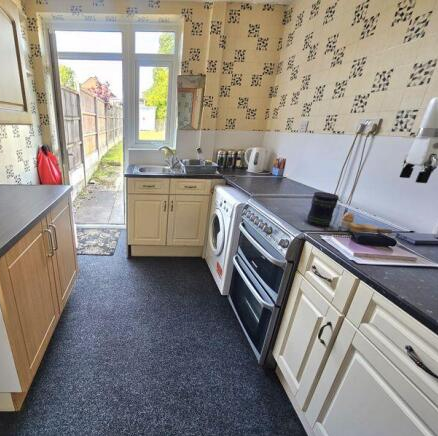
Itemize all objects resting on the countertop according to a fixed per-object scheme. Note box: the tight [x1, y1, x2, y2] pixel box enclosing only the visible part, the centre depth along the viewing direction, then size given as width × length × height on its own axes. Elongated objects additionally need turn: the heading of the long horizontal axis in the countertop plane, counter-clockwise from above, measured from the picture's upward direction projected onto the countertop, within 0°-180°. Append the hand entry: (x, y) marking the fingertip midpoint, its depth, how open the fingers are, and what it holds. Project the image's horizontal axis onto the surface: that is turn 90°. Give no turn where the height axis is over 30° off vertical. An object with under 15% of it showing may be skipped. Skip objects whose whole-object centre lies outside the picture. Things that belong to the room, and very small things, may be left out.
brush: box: [346, 222, 394, 235], centre depth 109 cm, size 16×5×4 cm, turn 72°
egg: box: [337, 212, 356, 230], centre depth 118 cm, size 6×6×7 cm
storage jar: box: [306, 191, 340, 229], centre depth 119 cm, size 10×10×15 cm
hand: (412, 180), depth 96 cm, fingers open, 9 cm apart
